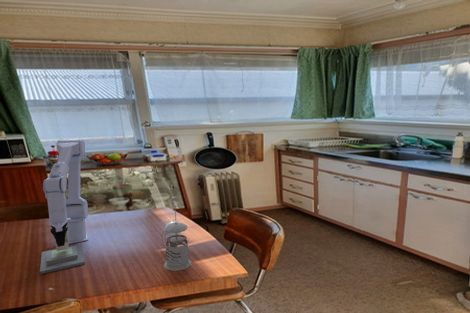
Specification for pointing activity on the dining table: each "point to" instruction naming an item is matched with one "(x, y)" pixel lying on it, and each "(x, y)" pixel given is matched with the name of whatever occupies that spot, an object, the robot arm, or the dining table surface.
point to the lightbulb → (172, 233)
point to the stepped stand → (61, 259)
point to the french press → (180, 259)
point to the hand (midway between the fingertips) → (61, 243)
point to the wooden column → (64, 244)
